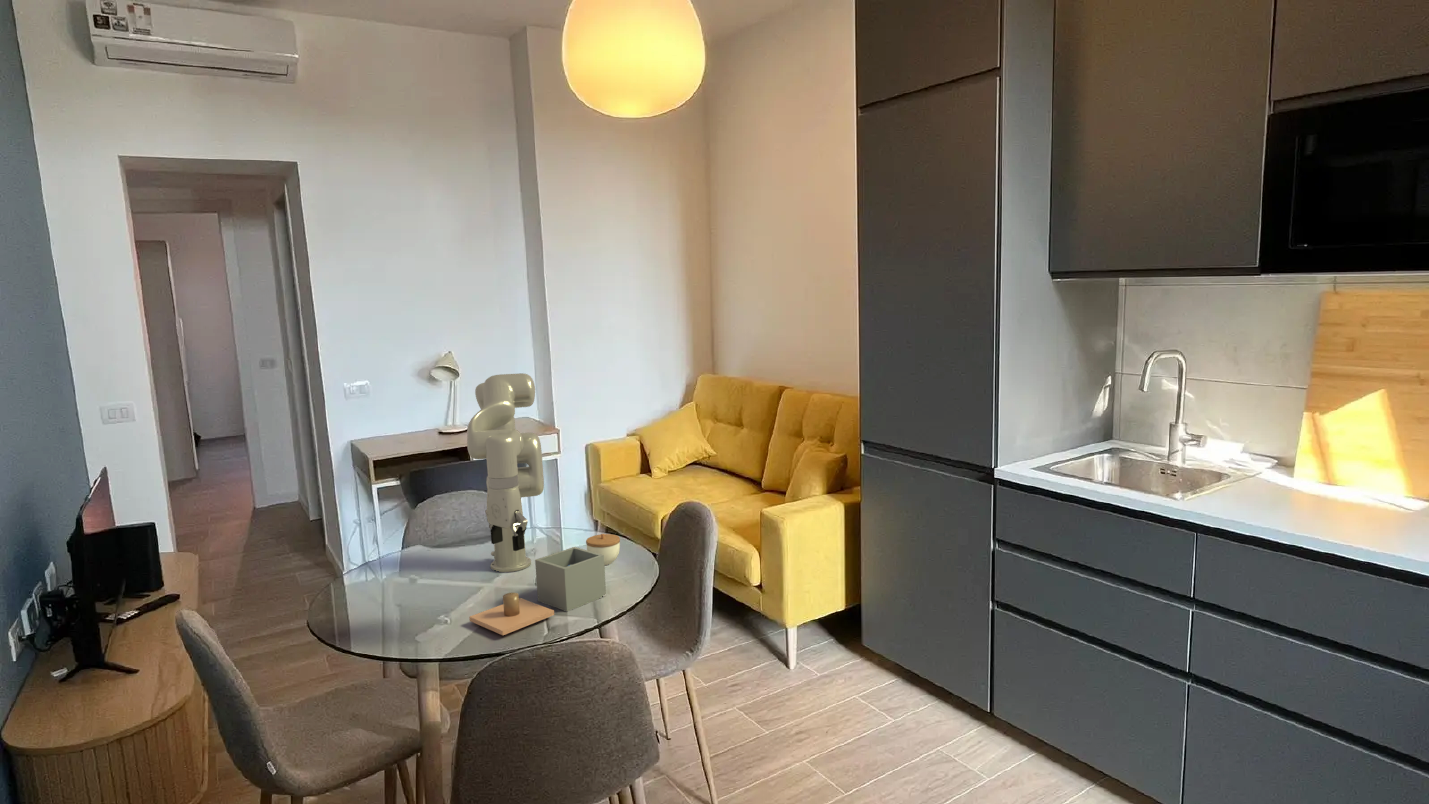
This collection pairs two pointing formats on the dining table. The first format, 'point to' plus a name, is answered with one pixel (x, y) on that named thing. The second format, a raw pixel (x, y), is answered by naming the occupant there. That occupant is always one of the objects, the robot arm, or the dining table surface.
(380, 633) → the dining table surface
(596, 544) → the lidded jar
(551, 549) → the dining table surface
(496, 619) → the lid
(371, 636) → the dining table surface
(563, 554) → the storage box
